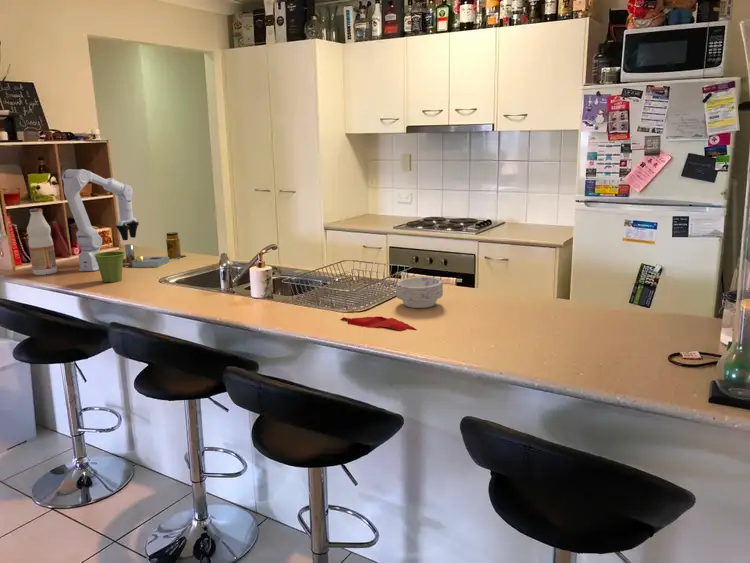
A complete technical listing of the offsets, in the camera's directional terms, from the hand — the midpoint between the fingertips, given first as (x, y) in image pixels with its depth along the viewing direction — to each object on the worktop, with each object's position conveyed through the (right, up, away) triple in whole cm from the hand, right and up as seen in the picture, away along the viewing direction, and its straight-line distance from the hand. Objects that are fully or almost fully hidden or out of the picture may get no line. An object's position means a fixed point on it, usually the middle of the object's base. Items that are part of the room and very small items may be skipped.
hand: (129, 238), depth 298 cm
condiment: (+20, -9, +7) cm, 23 cm away
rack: (+4, -12, -8) cm, 15 cm away
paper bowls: (+131, -28, -90) cm, 162 cm away
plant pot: (+10, -20, -42) cm, 47 cm away
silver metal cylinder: (+4, -11, -8) cm, 14 cm away
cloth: (+118, -34, -110) cm, 165 cm away
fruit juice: (-28, -17, -23) cm, 40 cm away
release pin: (+10, -13, -13) cm, 21 cm away
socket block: (+14, -12, -10) cm, 21 cm away
